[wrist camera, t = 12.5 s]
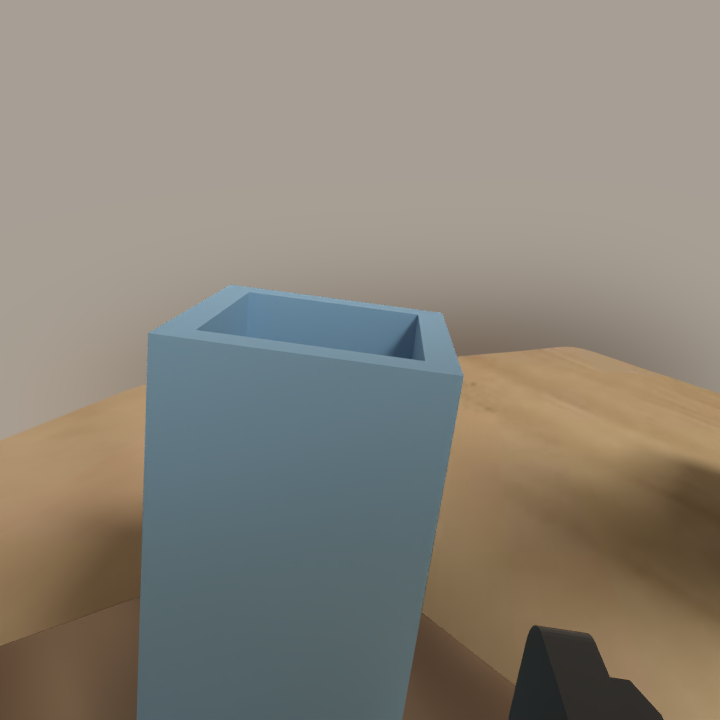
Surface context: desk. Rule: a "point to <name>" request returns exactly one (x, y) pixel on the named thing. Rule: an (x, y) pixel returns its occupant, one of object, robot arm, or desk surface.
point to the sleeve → (290, 505)
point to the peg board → (120, 673)
